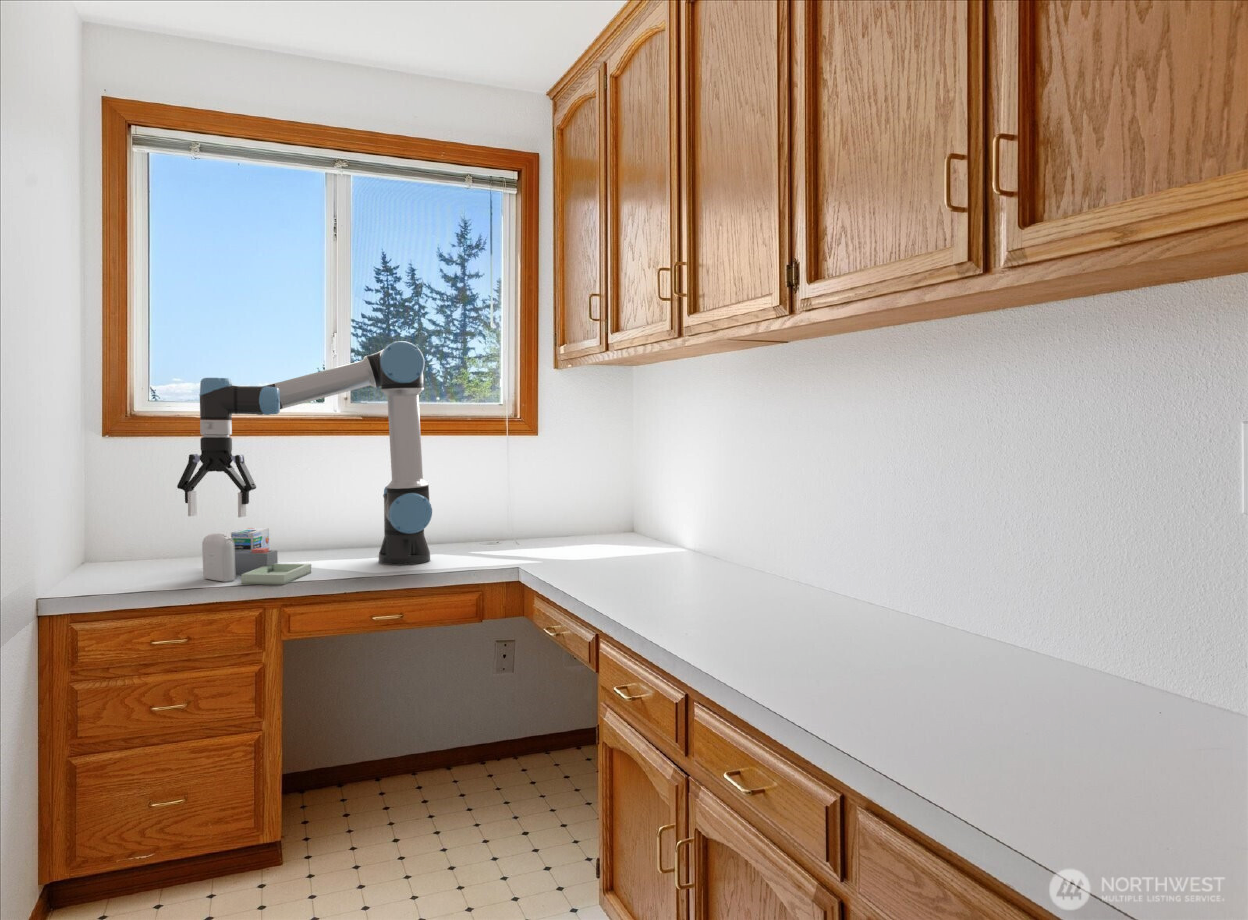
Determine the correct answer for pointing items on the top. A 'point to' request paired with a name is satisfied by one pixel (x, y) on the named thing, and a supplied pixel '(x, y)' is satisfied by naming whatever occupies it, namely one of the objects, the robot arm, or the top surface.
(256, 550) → the button
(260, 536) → the light bulb box
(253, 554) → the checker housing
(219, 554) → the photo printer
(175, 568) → the top surface
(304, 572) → the pale green tray
